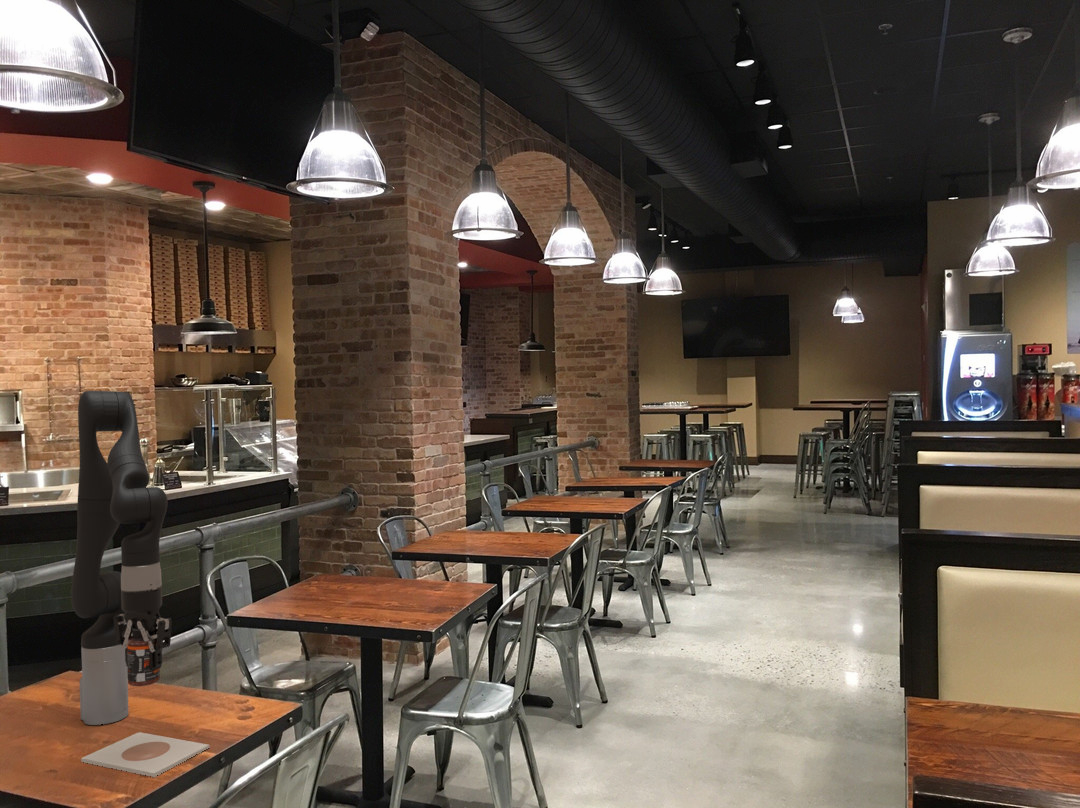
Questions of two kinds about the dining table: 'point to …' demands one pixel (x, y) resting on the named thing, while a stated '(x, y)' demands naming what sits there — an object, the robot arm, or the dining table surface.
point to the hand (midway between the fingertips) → (143, 667)
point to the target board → (145, 754)
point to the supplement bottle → (140, 661)
